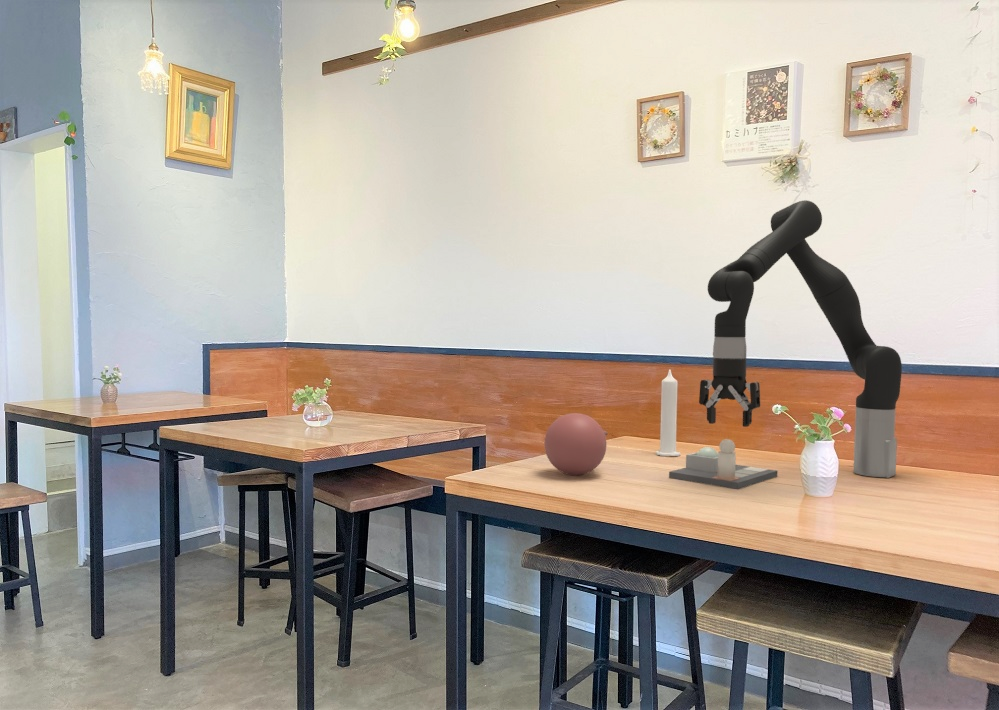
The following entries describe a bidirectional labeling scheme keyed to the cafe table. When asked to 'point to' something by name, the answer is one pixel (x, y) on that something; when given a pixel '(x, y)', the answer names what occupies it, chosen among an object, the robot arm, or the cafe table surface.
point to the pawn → (726, 460)
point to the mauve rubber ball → (575, 444)
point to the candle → (668, 417)
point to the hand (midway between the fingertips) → (728, 424)
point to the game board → (707, 472)
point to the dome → (707, 452)
